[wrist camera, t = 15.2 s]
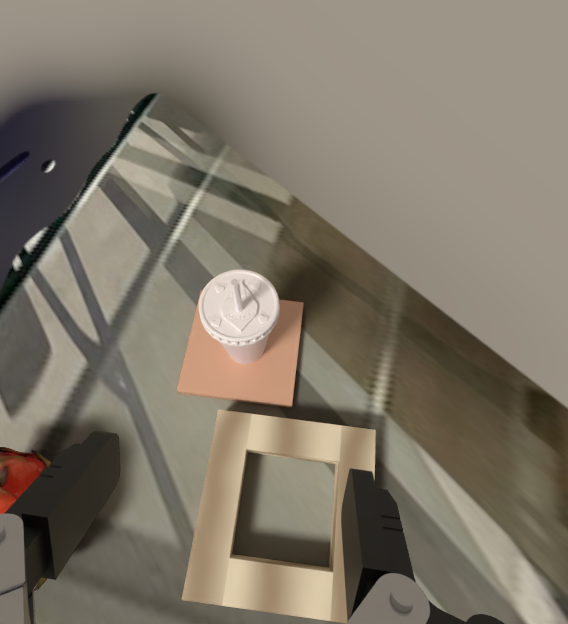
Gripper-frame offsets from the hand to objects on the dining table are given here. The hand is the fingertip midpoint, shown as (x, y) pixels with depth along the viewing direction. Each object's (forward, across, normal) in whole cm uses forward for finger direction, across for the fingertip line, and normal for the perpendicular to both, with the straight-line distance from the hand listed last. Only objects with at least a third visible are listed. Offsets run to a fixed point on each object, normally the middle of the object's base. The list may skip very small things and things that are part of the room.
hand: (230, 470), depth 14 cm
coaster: (+26, +4, +8) cm, 27 cm away
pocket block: (+16, -3, +18) cm, 24 cm away
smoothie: (+25, +3, +7) cm, 26 cm away
